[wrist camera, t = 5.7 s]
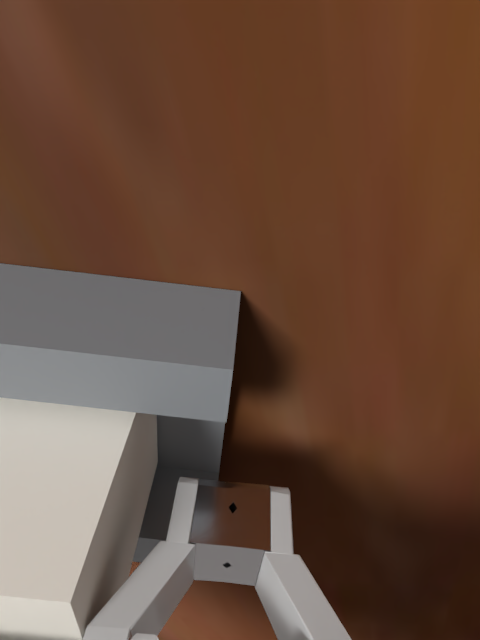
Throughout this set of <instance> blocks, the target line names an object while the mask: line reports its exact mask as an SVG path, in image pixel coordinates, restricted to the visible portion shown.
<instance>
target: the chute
mask: <svg viewBox="0 0 480 640" xmlns="http://www.w3.org/2000/svg"><path fill="white" fill-rule="evenodd" d="M240 296H241V291H234V290H225V289H217V288H208V287H199V286H191V285H182V284H174V283H165V282H156V281H148V280H139V279H130V278H122V277H113V276H105V275H96V274H87V273H79V272H70V271H62V270H53V269H44V268H36V267H27V266H19V265H10V264H1V263H0V398H9V399H18V400H27V401H37V402H46V403H55V404H64V405H73V406H82V407H91V408H100V409H109V410H118V411H127V412H136V413H145V414H154V415H157V448H158V463H157V467H156V471H155V475H154V479H153V483H152V487H151V491H150V495H149V498H148V502H147V506H146V510H145V514H144V518H143V522H142V526H141V530H140V534H139V538H138V542H137V546H136V549H135V553H134V557H133V562H142V561H143V560H144V559H145V558H146V557H147V556H148V554H149V553H150V552H151V551H152V550H153V549H154V547H155V546H156V545H157V544H158V543H159V542H160V541H166V539H167V534H168V529H169V524H170V519H171V514H172V509H173V504H174V499H175V494H176V489H177V484H178V481H179V478H180V477H189V478H199V479H205V480H215V481H218V477H219V469H220V460H221V452H222V444H223V436H224V428H225V422H226V423H227V415H228V407H229V399H230V391H231V384H232V376H233V367H234V357H235V347H236V336H237V326H238V316H239V306H240Z"/></svg>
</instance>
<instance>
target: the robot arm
mask: <svg viewBox="0 0 480 640" xmlns="http://www.w3.org/2000/svg"><path fill="white" fill-rule="evenodd" d="M193 580H204V581H218V582H228V583H236V584H244V585H252V586H255V589H256V591H257V593H258V596H259V598H260V600H261V602H262V605H263V607H264V609H265V611H266V614H267V616H268V618H269V620H270V623H271V625H272V627H273V629H274V632H275V634H276V636H277V638H278V640H351V638H350V636H349V635H348V633H347V631H346V630H345V628H344V627H343V625H342V623H341V622H340V620H339V618H338V617H337V615H336V613H335V612H334V610H333V609H332V607H331V605H330V604H329V602H328V600H327V599H326V597H325V596H324V594H323V592H322V591H321V589H320V587H319V586H318V584H317V582H316V581H315V579H314V578H313V576H312V574H311V573H310V571H309V569H308V568H307V566H306V564H305V563H304V561H303V560H302V558H301V556H300V555H297V554H294V549H293V531H292V513H291V496H290V491H289V488H288V487H279V486H269V485H261V484H249V483H237V482H225V481H215V480H205V479H199V478H189V477H180V478H179V481H178V484H177V489H176V494H175V499H174V504H173V509H172V514H171V519H170V524H169V529H168V534H167V539H166V541H160V542H159V543H158V544H157V545H156V546H155V547H154V549H153V550H152V551H151V552H150V553H149V554H148V556H147V557H146V558H145V559H144V560H143V561H142V562H141V564H140V565H139V566H138V567H137V568H136V569H135V571H134V572H133V573H132V574H131V575H130V576H129V578H128V579H127V580H126V581H125V582H124V583H123V585H122V586H121V587H120V588H119V589H118V590H117V592H116V593H115V594H114V595H113V596H112V597H111V598H110V600H109V601H108V602H107V603H106V604H105V605H104V607H103V608H102V609H101V610H100V611H99V612H98V614H97V615H96V616H95V617H94V618H93V619H92V621H91V622H90V623H89V624H88V625H87V628H86V631H85V634H84V637H83V640H159V639H158V637H157V635H158V634H159V632H160V631H161V629H162V628H163V626H164V625H165V623H166V622H167V620H168V619H169V617H170V616H171V614H172V613H173V611H174V610H175V608H176V607H177V605H178V604H179V602H180V601H181V599H182V598H183V596H184V595H185V593H186V592H187V590H188V589H189V587H190V586H191V585H192V583H193Z"/></svg>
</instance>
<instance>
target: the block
mask: <svg viewBox="0 0 480 640" xmlns="http://www.w3.org/2000/svg"><path fill="white" fill-rule="evenodd" d="M157 463H158V448H157V415H154V414H145V413H136V412H127V411H118V410H109V409H100V408H91V407H82V406H73V405H64V404H55V403H46V402H37V401H27V400H18V399H9V398H0V640H83V637H84V634H85V631H86V628H87V625H88V624H89V623H90V622H91V621H92V619H93V618H94V617H95V616H96V615H97V614H98V612H99V611H100V610H101V609H102V608H103V607H104V605H105V604H106V603H107V602H108V601H109V600H110V598H111V597H112V596H113V595H114V594H115V593H116V592H117V590H118V589H119V588H120V587H121V586H122V585H123V583H124V582H125V581H126V580H127V579H128V577H129V573H130V569H131V565H132V561H133V557H134V553H135V549H136V546H137V542H138V538H139V534H140V530H141V526H142V522H143V518H144V514H145V510H146V506H147V502H148V498H149V495H150V491H151V487H152V483H153V479H154V475H155V471H156V467H157Z"/></svg>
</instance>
